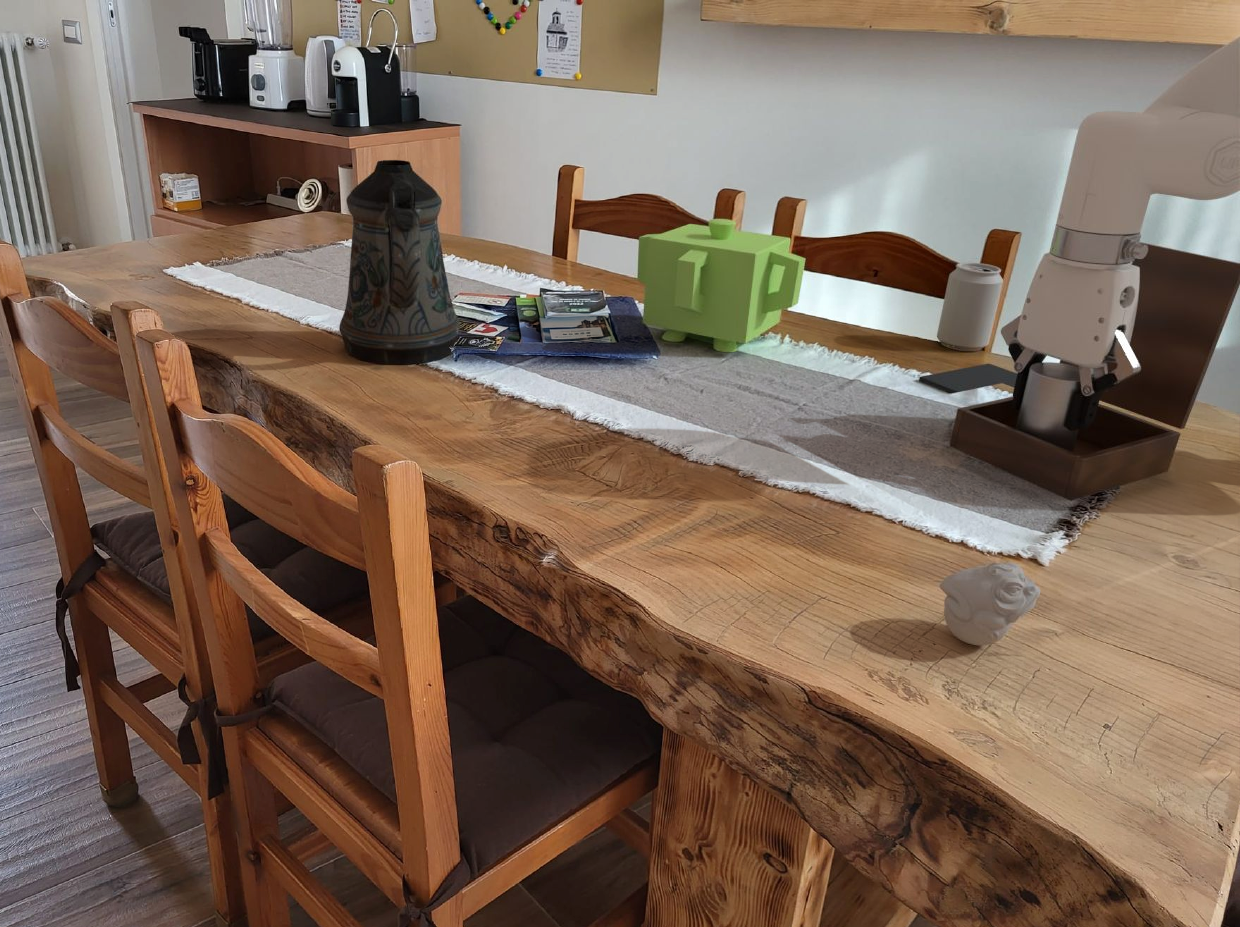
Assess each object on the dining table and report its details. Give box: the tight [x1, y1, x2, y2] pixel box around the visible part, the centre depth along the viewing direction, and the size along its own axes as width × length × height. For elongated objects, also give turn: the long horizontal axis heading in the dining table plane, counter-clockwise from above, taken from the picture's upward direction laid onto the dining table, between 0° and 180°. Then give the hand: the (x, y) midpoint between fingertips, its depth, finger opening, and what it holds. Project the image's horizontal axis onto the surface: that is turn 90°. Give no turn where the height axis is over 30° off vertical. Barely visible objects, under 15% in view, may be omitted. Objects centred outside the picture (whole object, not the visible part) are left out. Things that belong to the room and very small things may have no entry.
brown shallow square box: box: [949, 396, 1181, 502], centre depth 110 cm, size 17×16×5 cm
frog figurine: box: [939, 561, 1041, 646], centre depth 77 cm, size 6×7×7 cm
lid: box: [1058, 241, 1240, 430], centre depth 110 cm, size 17×16×5 cm
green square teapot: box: [636, 218, 807, 353], centre depth 147 cm, size 25×23×17 cm
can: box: [936, 262, 1004, 352], centre depth 148 cm, size 8×8×12 cm
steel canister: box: [1016, 361, 1081, 452], centre depth 106 cm, size 6×6×10 cm
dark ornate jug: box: [338, 159, 461, 366], centre depth 134 cm, size 16×19×25 cm
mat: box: [918, 363, 1018, 394], centre depth 133 cm, size 14×14×1 cm
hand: (1049, 415), depth 106 cm, fingers closed on steel canister, 6 cm apart
